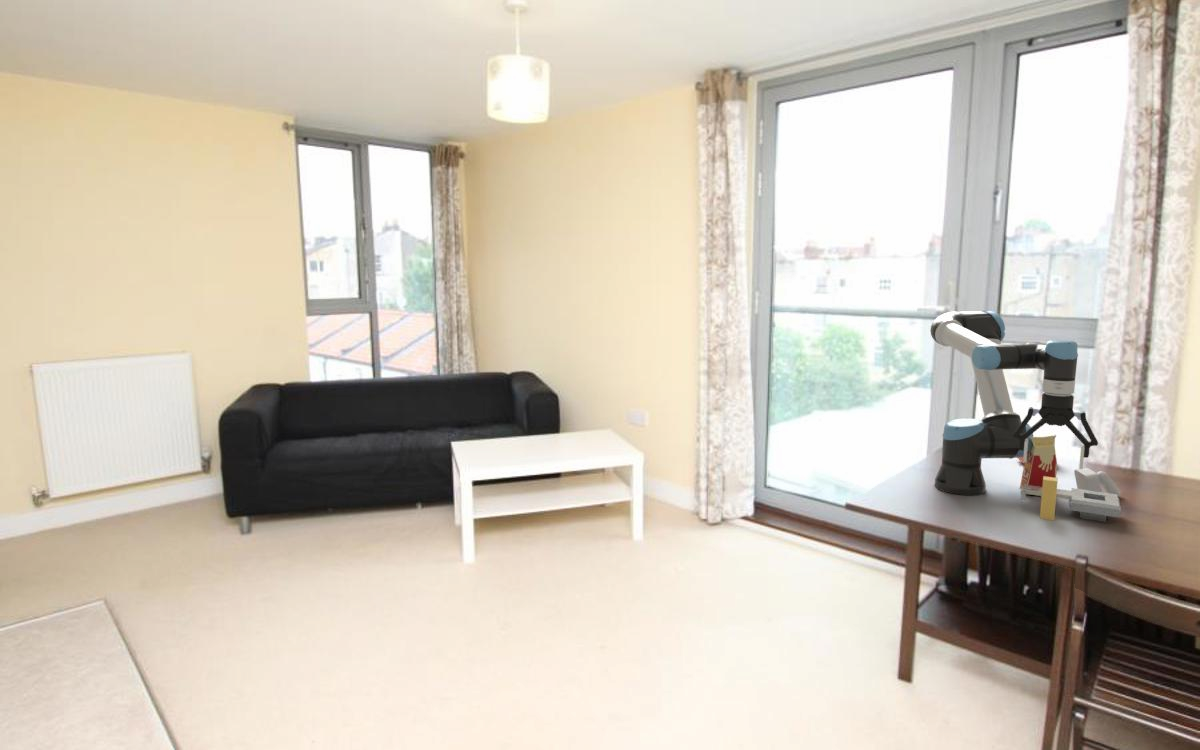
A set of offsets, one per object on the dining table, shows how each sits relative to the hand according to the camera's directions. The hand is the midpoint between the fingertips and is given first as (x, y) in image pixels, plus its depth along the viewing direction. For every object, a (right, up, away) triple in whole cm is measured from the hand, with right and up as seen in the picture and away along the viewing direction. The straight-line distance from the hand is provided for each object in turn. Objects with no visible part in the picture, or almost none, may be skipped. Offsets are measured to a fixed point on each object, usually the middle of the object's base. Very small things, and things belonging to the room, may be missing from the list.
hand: (1052, 464), depth 191 cm
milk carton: (+10, -12, +23) cm, 28 cm away
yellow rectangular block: (+1, -16, +3) cm, 17 cm away
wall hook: (+27, -13, +18) cm, 35 cm away
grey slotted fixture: (+9, -15, +6) cm, 19 cm away
